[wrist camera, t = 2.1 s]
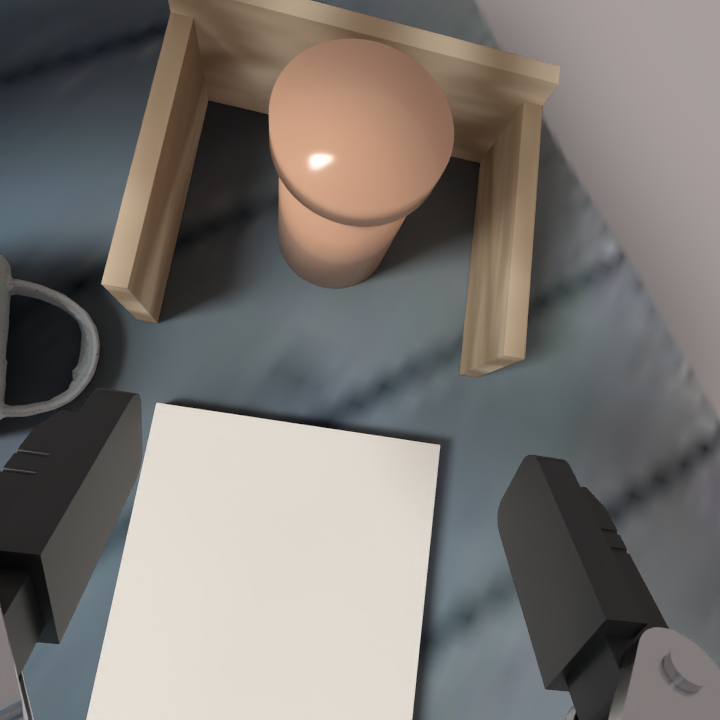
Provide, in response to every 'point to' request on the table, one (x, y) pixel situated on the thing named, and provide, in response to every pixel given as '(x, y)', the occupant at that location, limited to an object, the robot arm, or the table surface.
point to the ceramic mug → (5, 286)
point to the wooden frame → (253, 91)
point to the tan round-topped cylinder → (353, 154)
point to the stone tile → (269, 574)
